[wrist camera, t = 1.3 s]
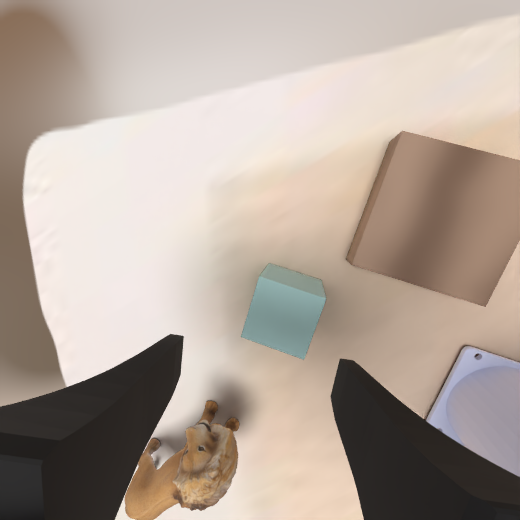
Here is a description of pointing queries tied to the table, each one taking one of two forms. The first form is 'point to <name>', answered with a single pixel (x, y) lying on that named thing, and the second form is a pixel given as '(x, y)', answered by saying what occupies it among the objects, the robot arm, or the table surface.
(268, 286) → the teal brick
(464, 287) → the walnut base block
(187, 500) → the lion figurine
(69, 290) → the table surface
